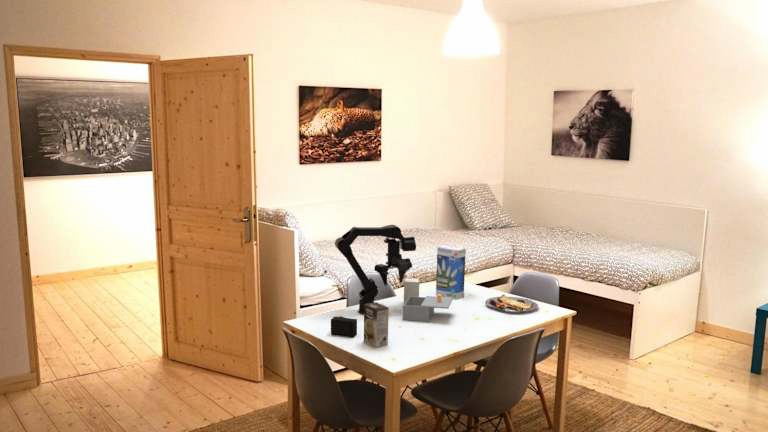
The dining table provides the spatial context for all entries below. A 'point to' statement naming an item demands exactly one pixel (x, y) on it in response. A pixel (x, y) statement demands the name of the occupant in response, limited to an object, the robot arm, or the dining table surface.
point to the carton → (416, 310)
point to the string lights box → (450, 271)
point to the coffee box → (376, 324)
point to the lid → (437, 302)
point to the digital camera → (344, 327)
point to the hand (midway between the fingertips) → (393, 284)
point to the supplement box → (411, 288)
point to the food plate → (511, 304)
